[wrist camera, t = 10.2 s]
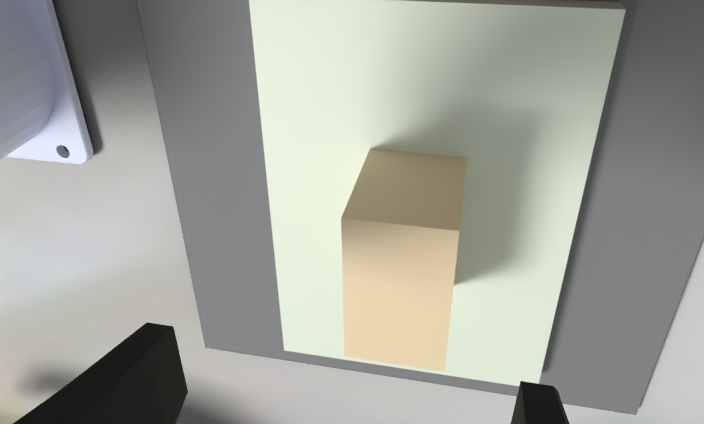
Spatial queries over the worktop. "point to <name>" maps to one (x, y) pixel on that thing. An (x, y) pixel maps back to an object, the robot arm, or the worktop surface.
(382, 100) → the cover plate
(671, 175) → the charcoal mat
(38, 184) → the worktop surface
